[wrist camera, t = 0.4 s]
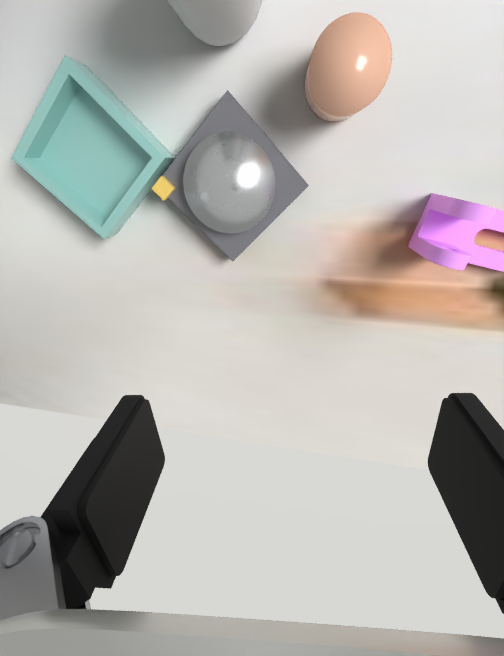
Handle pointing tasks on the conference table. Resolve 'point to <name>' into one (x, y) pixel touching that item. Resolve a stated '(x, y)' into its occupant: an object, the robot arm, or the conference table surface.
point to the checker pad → (229, 182)
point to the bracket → (457, 233)
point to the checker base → (237, 120)
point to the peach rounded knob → (348, 66)
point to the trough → (91, 150)
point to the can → (217, 18)
